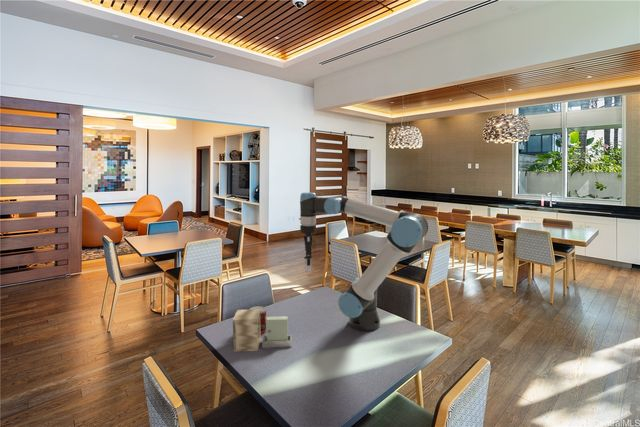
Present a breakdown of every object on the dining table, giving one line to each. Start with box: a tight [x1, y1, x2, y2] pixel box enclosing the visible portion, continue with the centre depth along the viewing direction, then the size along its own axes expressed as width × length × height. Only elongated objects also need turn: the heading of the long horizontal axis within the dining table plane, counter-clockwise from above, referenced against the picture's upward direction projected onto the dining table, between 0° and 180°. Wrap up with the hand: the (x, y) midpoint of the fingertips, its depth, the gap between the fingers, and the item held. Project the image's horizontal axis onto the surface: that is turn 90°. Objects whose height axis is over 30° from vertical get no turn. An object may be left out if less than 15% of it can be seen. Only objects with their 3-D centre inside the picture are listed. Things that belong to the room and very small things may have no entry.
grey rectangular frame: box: [261, 334, 293, 349], centre depth 143 cm, size 13×6×3 cm, turn 94°
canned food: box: [248, 305, 267, 336], centre depth 154 cm, size 8×8×11 cm
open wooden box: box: [232, 308, 262, 352], centre depth 142 cm, size 10×10×14 cm
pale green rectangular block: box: [266, 315, 289, 341], centre depth 142 cm, size 9×4×12 cm, turn 94°
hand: (308, 267), depth 159 cm, fingers open, 13 cm apart
